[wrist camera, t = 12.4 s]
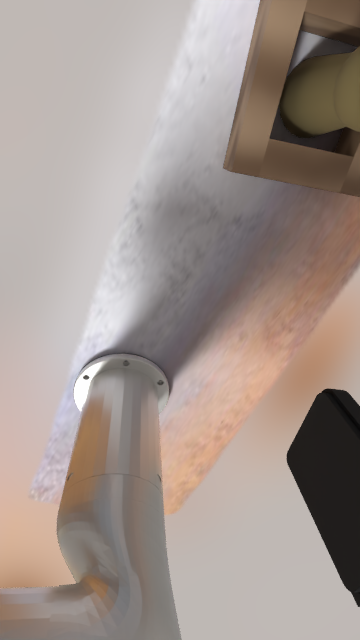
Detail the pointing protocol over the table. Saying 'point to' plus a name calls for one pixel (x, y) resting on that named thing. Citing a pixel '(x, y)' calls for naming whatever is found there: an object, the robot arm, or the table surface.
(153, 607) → the robot arm
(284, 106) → the cork
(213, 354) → the table surface
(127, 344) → the table surface
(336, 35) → the socket block
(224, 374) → the table surface
